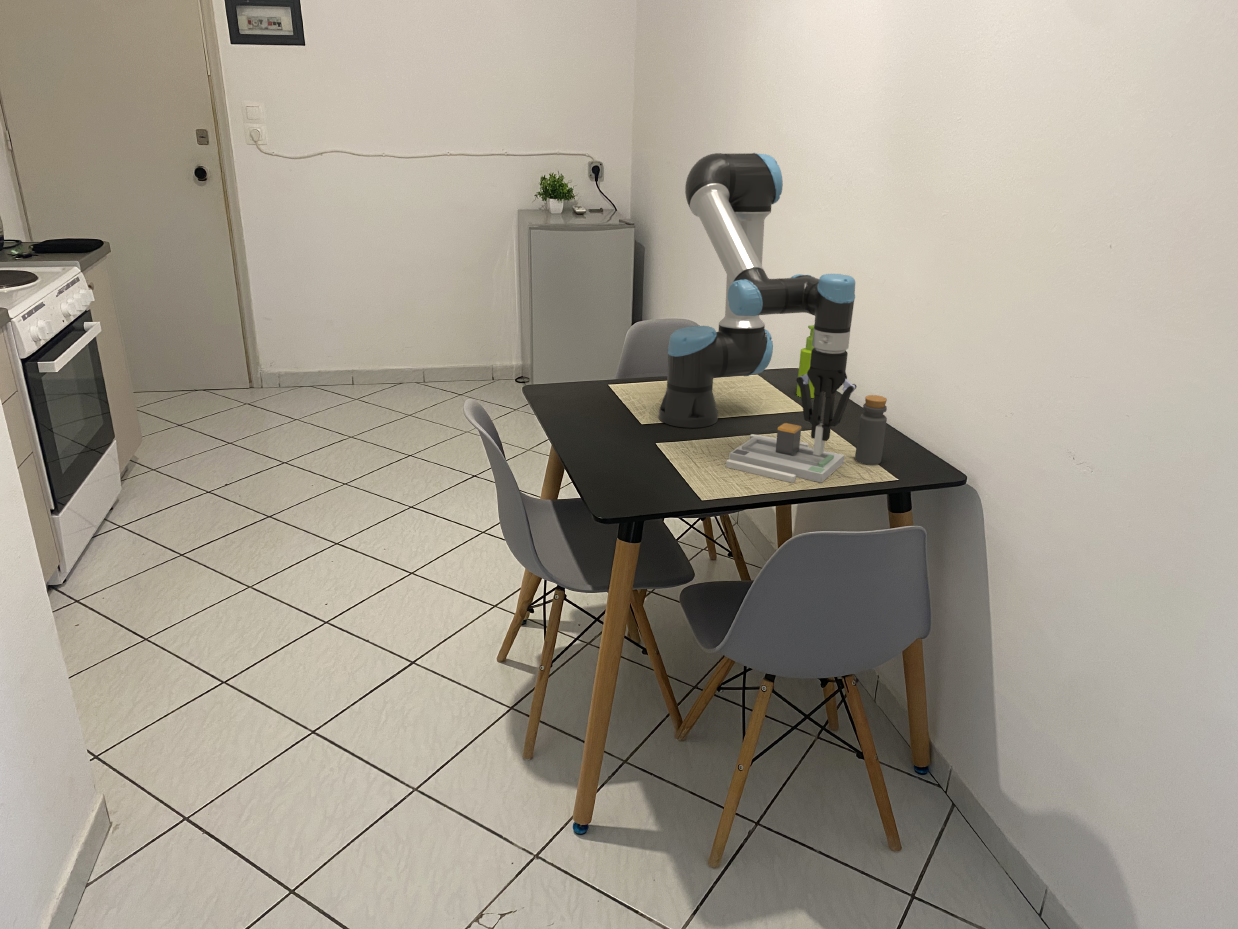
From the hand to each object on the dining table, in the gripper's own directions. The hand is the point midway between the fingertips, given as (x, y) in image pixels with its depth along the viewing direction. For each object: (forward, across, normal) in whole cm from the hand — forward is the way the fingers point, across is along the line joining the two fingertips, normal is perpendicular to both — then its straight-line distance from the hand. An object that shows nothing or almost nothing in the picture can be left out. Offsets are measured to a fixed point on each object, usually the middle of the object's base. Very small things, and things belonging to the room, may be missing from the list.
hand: (818, 452), depth 196 cm
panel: (+4, -7, 0) cm, 8 cm away
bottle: (+4, +8, +12) cm, 15 cm away
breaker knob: (+1, -7, 0) cm, 7 cm away
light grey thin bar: (+4, -13, +10) cm, 17 cm away
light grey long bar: (+4, -9, -10) cm, 14 cm away
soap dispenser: (+4, -22, +52) cm, 57 cm away
